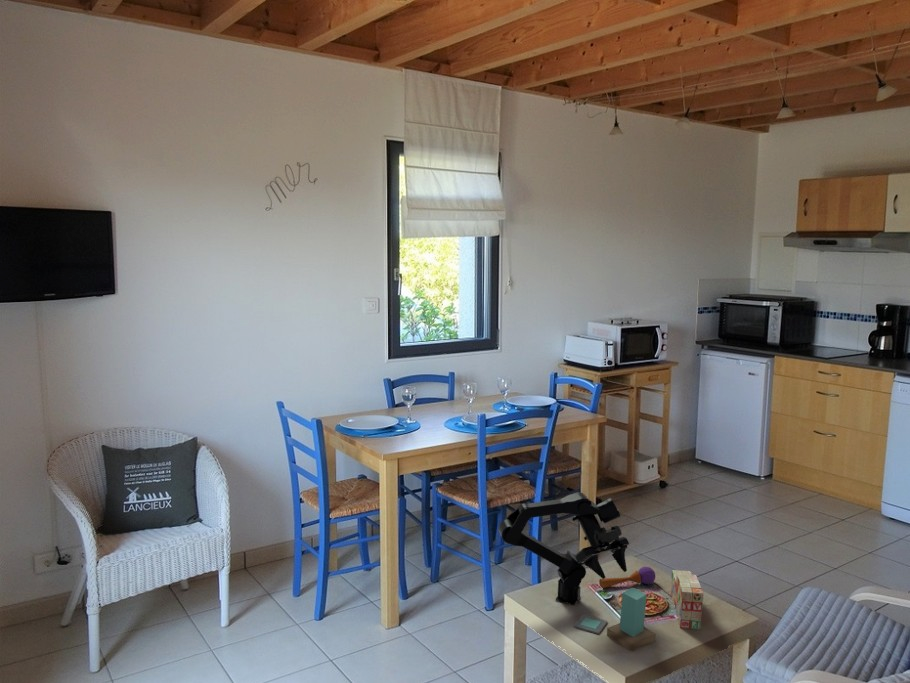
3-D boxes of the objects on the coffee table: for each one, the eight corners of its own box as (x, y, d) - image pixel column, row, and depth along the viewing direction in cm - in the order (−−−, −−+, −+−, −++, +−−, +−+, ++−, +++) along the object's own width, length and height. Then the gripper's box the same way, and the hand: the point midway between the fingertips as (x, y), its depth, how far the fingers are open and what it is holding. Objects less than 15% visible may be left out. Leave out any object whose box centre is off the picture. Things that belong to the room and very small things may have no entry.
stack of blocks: (670, 595, 243) (672, 560, 242) (689, 597, 243) (691, 562, 241) (680, 628, 223) (682, 591, 221) (701, 630, 222) (703, 592, 220)
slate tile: (573, 627, 222) (573, 625, 222) (582, 615, 229) (582, 614, 229) (598, 634, 218) (598, 632, 218) (607, 622, 225) (607, 620, 225)
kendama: (596, 572, 251) (649, 563, 255) (598, 590, 251) (651, 580, 255) (603, 577, 245) (657, 567, 250) (605, 595, 245) (659, 585, 249)
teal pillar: (619, 629, 216) (622, 592, 214) (629, 623, 220) (632, 587, 217) (633, 637, 213) (636, 599, 210) (643, 630, 216) (646, 594, 214)
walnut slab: (606, 637, 218) (607, 627, 218) (630, 627, 223) (630, 618, 223) (631, 653, 210) (631, 643, 209) (655, 643, 215) (655, 633, 215)
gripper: (583, 524, 225) (607, 571, 217) (626, 513, 235) (650, 558, 227) (565, 539, 233) (588, 585, 225) (608, 528, 243) (631, 572, 235)
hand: (615, 574), depth 228 cm, fingers open, 9 cm apart
